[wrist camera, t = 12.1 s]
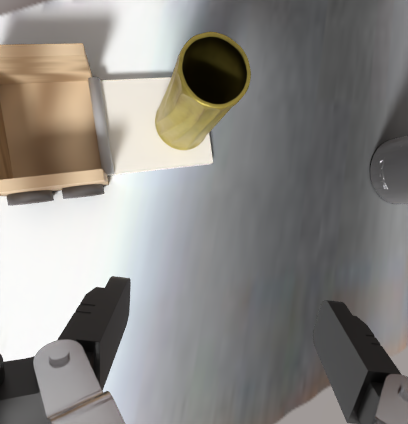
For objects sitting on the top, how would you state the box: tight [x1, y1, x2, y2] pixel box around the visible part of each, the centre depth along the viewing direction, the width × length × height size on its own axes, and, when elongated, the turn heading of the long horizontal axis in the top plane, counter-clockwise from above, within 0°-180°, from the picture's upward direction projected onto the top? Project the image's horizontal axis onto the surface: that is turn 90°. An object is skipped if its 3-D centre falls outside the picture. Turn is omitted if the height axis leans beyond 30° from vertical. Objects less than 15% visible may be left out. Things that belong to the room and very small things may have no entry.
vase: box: [155, 32, 251, 150], centre depth 28 cm, size 6×6×14 cm
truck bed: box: [0, 43, 109, 205], centre depth 30 cm, size 10×14×7 cm
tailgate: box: [88, 77, 213, 176], centre depth 34 cm, size 12×10×2 cm
